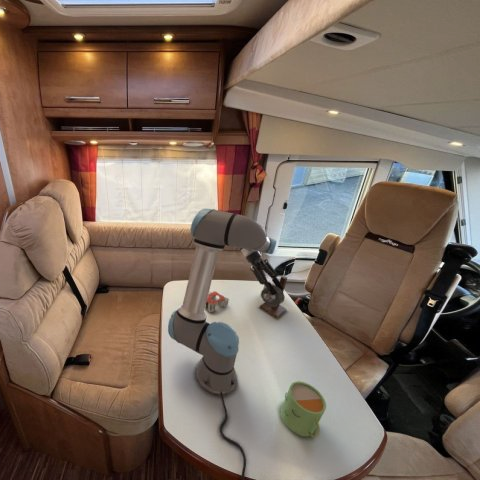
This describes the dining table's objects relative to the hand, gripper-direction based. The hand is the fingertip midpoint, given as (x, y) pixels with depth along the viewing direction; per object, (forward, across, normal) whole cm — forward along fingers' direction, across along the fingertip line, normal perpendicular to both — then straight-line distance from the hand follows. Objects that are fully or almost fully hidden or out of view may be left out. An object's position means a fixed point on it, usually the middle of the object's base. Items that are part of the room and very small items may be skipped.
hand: (278, 291), depth 118 cm
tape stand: (+8, -1, -14) cm, 16 cm away
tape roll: (+4, +1, -8) cm, 9 cm away
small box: (+2, -14, -18) cm, 23 cm away
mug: (+35, +42, +7) cm, 55 cm away
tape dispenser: (-13, +17, -26) cm, 34 cm away
